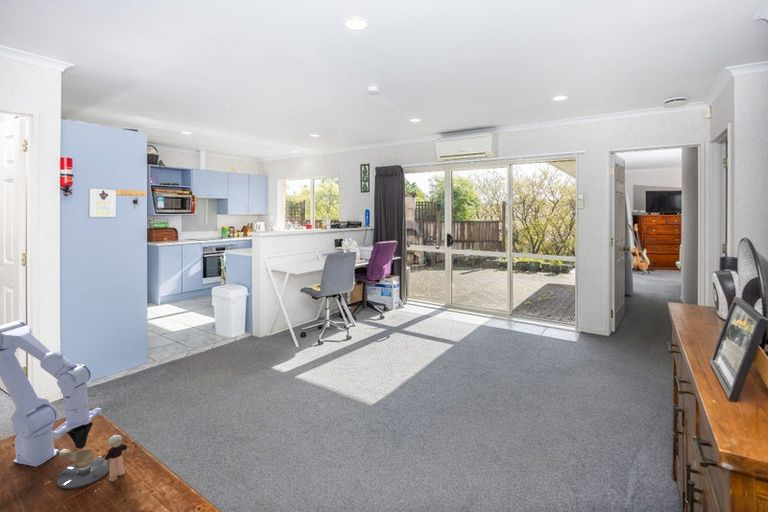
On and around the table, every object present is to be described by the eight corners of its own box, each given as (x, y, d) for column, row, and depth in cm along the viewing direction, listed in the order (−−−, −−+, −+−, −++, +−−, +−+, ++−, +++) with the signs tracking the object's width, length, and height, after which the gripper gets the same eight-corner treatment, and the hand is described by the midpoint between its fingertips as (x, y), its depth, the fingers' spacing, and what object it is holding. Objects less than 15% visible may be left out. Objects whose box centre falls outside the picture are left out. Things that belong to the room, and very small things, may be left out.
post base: (45, 484, 117) (44, 474, 116) (87, 457, 129) (86, 447, 129) (82, 492, 114) (81, 481, 113) (121, 463, 126) (120, 453, 126)
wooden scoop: (52, 463, 121) (51, 454, 121) (67, 454, 125) (66, 445, 125) (83, 469, 119) (82, 459, 118) (96, 460, 123) (96, 450, 122)
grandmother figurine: (113, 484, 117) (109, 443, 116) (101, 482, 118) (98, 441, 116) (134, 467, 125) (131, 428, 123) (123, 466, 125) (120, 427, 124)
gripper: (64, 419, 117) (68, 463, 119) (108, 396, 131) (111, 436, 133) (44, 416, 119) (49, 459, 121) (90, 394, 133) (93, 433, 135)
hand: (80, 447), depth 127 cm, fingers closed
